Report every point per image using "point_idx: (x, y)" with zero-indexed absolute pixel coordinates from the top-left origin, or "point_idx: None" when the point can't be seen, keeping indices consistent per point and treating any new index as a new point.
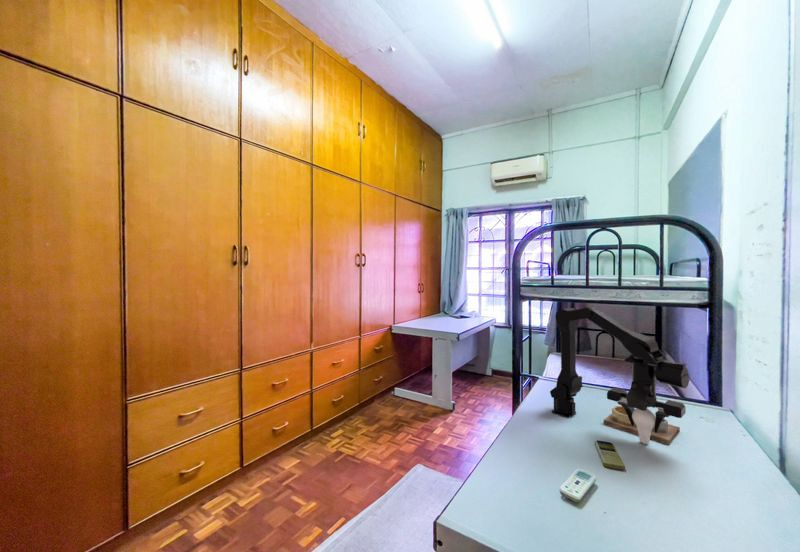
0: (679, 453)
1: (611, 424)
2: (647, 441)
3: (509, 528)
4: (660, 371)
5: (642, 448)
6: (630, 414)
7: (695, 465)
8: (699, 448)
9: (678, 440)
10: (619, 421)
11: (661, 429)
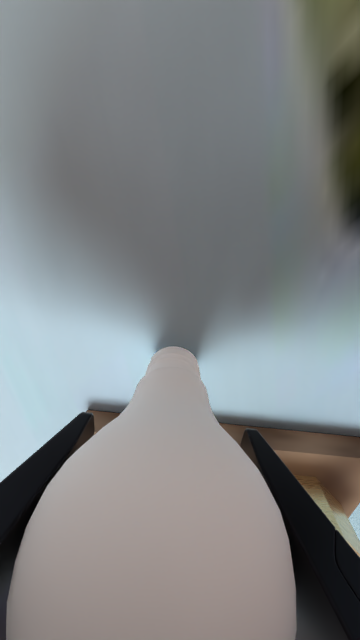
0: (27, 360)
1: (341, 445)
2: (154, 357)
3: None
4: None
5: (171, 290)
6: (312, 549)
7: None
8: (3, 449)
9: None
10: (309, 481)
11: None
